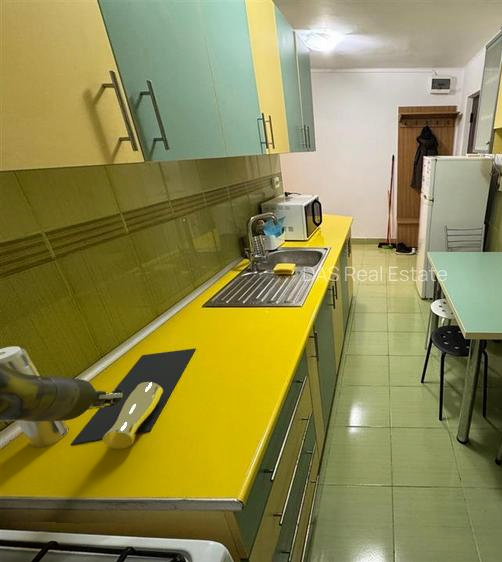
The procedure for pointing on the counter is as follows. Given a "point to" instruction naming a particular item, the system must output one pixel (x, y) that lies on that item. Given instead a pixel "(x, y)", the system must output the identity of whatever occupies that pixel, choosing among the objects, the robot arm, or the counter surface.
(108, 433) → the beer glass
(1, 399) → the robot arm
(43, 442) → the silver metal cylinder
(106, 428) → the mat
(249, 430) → the counter surface
